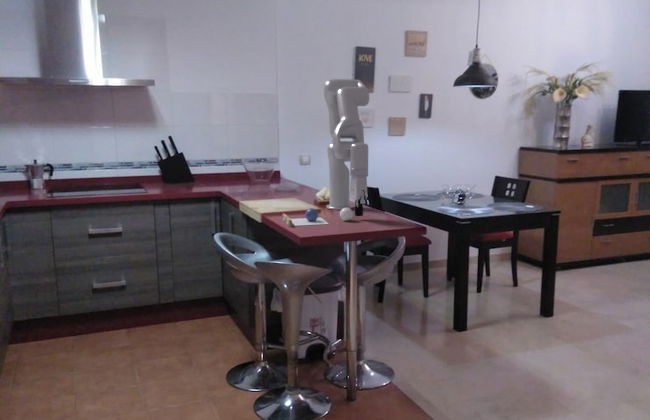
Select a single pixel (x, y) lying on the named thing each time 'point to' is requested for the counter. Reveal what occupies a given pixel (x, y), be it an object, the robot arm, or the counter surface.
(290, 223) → the stopper rail
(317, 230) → the counter surface
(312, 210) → the navy ball
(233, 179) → the counter surface
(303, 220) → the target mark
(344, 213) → the cue ball
